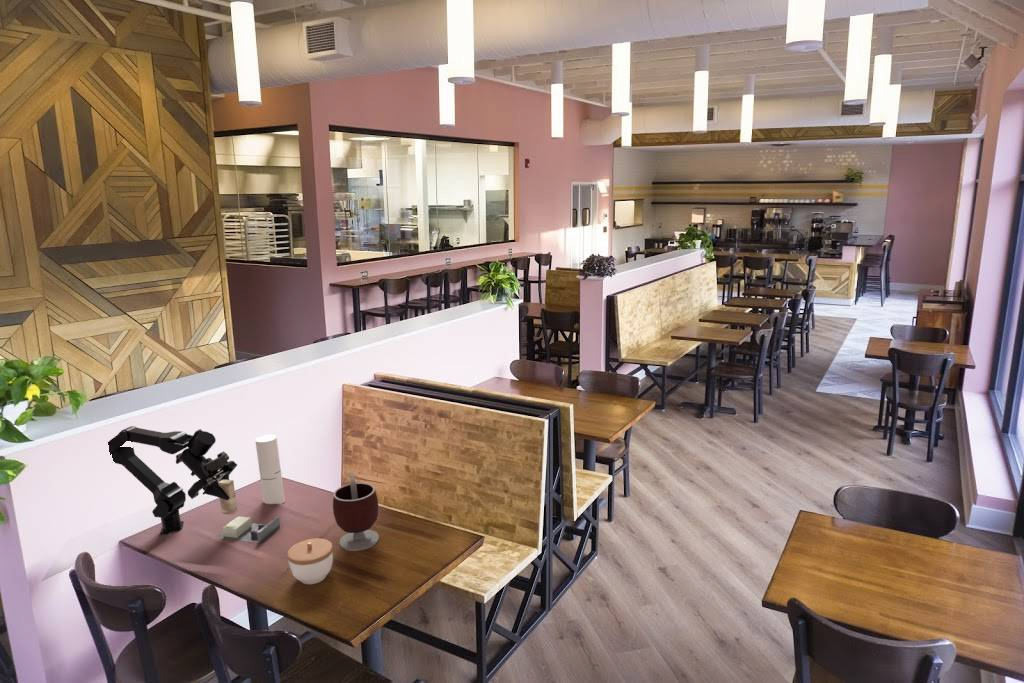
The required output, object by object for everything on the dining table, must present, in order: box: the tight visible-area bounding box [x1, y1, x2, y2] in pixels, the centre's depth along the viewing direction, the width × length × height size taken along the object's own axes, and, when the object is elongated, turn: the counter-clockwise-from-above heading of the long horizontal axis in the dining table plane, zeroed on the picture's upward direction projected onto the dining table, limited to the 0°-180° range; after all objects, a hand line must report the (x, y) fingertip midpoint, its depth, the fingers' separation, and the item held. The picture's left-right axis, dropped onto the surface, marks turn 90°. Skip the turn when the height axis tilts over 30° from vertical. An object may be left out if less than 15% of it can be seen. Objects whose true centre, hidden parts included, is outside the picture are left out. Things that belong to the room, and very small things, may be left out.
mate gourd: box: [332, 472, 380, 552], centre depth 216 cm, size 16×14×20 cm
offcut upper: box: [222, 515, 252, 534], centre depth 224 cm, size 5×8×2 cm, turn 165°
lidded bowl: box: [286, 537, 334, 585], centre depth 197 cm, size 13×13×11 cm
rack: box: [214, 516, 283, 544], centre depth 223 cm, size 18×11×5 cm, turn 75°
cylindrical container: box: [254, 434, 286, 505], centre depth 244 cm, size 7×7×25 cm
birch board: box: [218, 479, 239, 516], centre depth 222 cm, size 4×2×11 cm, turn 76°
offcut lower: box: [222, 521, 252, 538], centre depth 224 cm, size 5×8×2 cm, turn 165°
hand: (231, 497), depth 222 cm, fingers closed on birch board, 2 cm apart
